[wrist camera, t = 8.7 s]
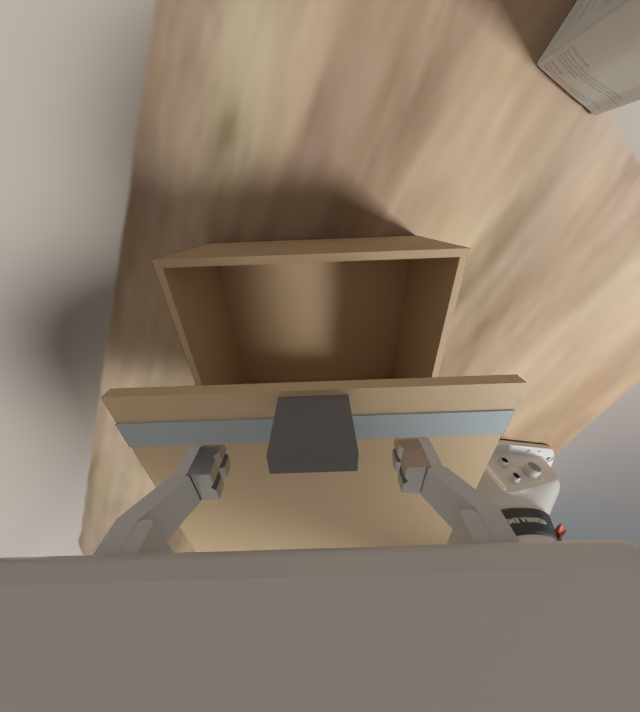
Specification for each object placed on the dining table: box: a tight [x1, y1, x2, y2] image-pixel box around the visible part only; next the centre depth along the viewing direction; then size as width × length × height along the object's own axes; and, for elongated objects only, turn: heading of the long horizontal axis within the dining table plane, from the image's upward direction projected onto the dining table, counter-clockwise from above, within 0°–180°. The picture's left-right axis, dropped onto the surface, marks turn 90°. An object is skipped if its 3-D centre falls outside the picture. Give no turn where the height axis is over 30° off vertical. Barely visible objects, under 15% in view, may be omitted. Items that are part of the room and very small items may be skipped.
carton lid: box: [101, 375, 526, 552], centre depth 18 cm, size 24×20×5 cm
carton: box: [152, 235, 470, 386], centre depth 29 cm, size 24×20×12 cm
